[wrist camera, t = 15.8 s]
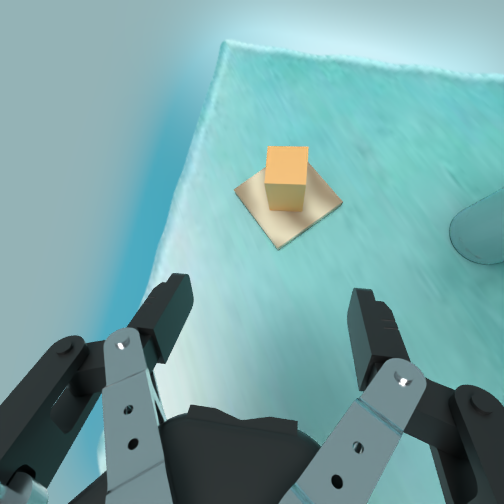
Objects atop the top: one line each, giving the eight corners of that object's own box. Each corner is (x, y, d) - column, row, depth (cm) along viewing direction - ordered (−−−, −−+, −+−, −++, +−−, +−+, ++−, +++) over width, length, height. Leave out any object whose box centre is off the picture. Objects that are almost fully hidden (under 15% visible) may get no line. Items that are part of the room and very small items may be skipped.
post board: (294, 151, 48) (295, 123, 41) (341, 205, 45) (351, 185, 38) (235, 193, 48) (225, 172, 41) (278, 250, 45) (276, 239, 38)
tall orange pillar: (304, 181, 45) (308, 146, 35) (302, 211, 44) (306, 184, 34) (272, 180, 46) (267, 146, 36) (269, 210, 45) (264, 183, 35)
